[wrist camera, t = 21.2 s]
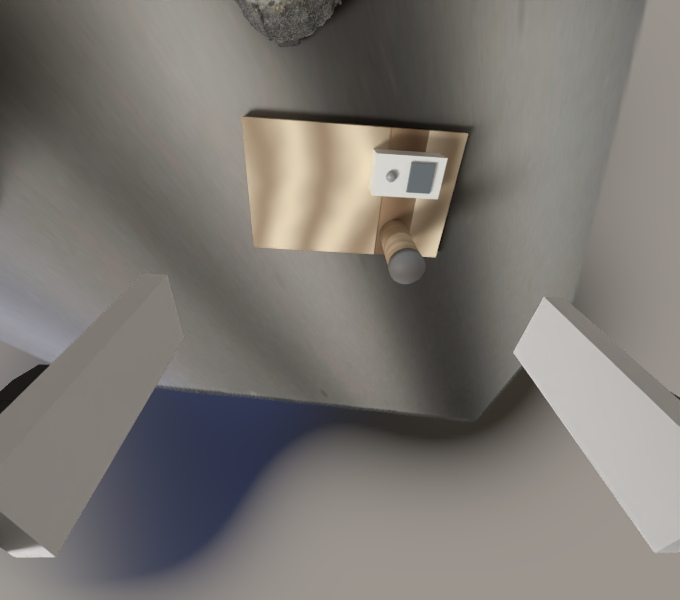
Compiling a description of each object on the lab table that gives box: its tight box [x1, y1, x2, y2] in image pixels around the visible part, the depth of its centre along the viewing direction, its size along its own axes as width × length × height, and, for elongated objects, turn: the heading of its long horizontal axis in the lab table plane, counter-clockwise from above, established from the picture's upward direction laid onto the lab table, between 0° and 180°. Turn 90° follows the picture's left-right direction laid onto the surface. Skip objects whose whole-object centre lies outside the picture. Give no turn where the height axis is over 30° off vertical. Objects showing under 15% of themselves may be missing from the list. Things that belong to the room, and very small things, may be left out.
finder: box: [369, 149, 448, 199], centre depth 32 cm, size 7×4×3 cm, turn 86°
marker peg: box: [379, 220, 425, 284], centre depth 34 cm, size 4×4×9 cm
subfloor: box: [241, 116, 468, 257], centre depth 35 cm, size 23×14×1 cm, turn 86°
